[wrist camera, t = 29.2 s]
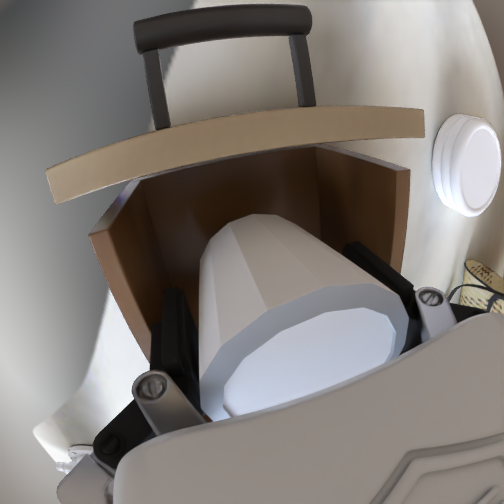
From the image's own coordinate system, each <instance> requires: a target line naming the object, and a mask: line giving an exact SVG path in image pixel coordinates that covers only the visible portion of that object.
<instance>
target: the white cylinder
mask: <svg viewBox="0 0 504 504" xmlns="http://www.w3.org/2000/svg"><path fill="white" fill-rule="evenodd" d="M408 322H409V317H408V315H407V312H406V310H405V308H404V305H403V303H402V301H401V299H400V296H399V295H397V294H396V293H395V292H393V291H392V290H391V289H389V288H388V287H386V286H385V285H384V284H382V283H381V282H380V281H378V280H377V279H375V278H374V277H373V276H371V275H370V274H368V273H367V272H365V271H364V270H363V269H361V268H360V267H358V266H357V265H355V264H354V263H353V262H351V261H350V260H348V259H347V258H345V257H344V256H342V255H341V254H340V253H338V252H337V251H335V250H334V249H332V248H331V247H329V246H328V245H326V244H325V243H323V242H322V241H320V240H319V239H317V238H316V237H314V236H313V235H311V234H310V233H308V232H307V231H305V230H304V229H302V228H301V227H299V226H298V225H296V224H294V223H292V222H290V221H288V220H286V219H284V218H282V217H280V216H278V215H268V214H251V215H248V216H246V217H243V218H240V219H237V220H235V221H232V222H229V223H228V224H227V225H226V226H224V227H223V228H222V229H221V230H220V231H219V232H218V233H217V234H215V235H214V236H213V237H212V238H211V239H210V240H209V242H208V244H207V247H206V249H205V251H204V253H203V255H202V257H201V259H200V275H199V383H200V402H201V409H202V410H203V411H204V412H205V413H206V414H207V415H208V416H209V417H210V418H211V419H212V420H213V422H214V421H219V420H223V419H227V418H231V417H235V416H239V415H243V414H247V413H250V412H254V411H258V410H261V409H265V408H268V407H272V406H275V405H278V404H282V403H285V402H288V401H291V400H294V399H297V398H300V397H303V396H306V395H309V394H311V393H314V392H317V391H320V390H322V389H325V388H328V387H330V386H333V385H335V384H338V383H340V382H343V381H345V380H348V379H350V378H352V377H355V376H357V375H359V374H362V373H364V372H366V371H368V370H371V369H373V368H375V367H377V366H379V365H381V364H383V363H385V362H387V361H389V360H392V359H394V358H396V357H398V356H399V354H400V352H401V351H402V349H403V347H404V345H405V340H406V335H407V328H408Z"/></svg>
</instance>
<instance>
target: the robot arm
mask: <svg viewBox="0 0 504 504" xmlns="http://www.w3.org/2000/svg"><path fill="white" fill-rule="evenodd" d="M342 256H344V257H345V258H347V259H348V260H350V261H351V262H353V263H354V264H355V265H357V266H358V267H360V268H361V269H363V270H364V271H365V272H367V273H368V274H370V275H371V276H373V277H374V278H375V279H377V280H378V281H380V282H381V283H382V284H384V285H385V286H386V287H388V288H389V289H391V290H392V291H393V292H395V293H396V294H397V295H399V296H400V299H401V301H402V303H403V305H404V308H405V310H406V312H407V315H408V317H409V322H408V328H407V335H406V340H405V345H404V347H403V349H402V351H401V352H400V356H398V357H396V358H394V359H392V360H389V361H387V362H385V363H383V364H381V365H379V366H377V367H375V368H373V369H371V370H368V371H366V372H364V373H362V374H359V375H357V376H355V377H352V378H350V379H348V380H345V381H343V382H340V383H338V384H335V385H333V386H330V387H328V388H325V389H322V390H320V391H317V392H314V393H311V394H309V395H306V396H303V397H300V398H297V399H294V400H291V401H288V402H285V403H282V404H278V405H275V406H272V407H268V408H265V409H261V410H258V411H254V412H250V413H247V414H243V415H239V416H235V417H231V418H227V419H223V420H219V421H214V422H210V423H207V421H206V420H205V419H204V418H203V417H204V415H206V413H205V412H204V411H203V410H202V409H201V402H200V383H199V334H198V331H197V328H196V326H195V323H194V320H193V317H192V314H191V312H190V309H189V306H188V303H187V300H186V297H185V294H184V291H183V289H178V288H177V286H175V287H170V288H166V289H164V290H163V306H162V322H158V323H154V324H152V331H151V349H150V371H147V372H145V373H143V374H141V375H140V376H139V377H138V378H137V379H136V380H135V381H134V383H133V386H132V394H133V397H134V400H133V401H132V402H131V403H130V404H129V405H128V406H127V407H125V408H124V409H123V410H122V411H121V412H120V413H119V414H118V415H117V416H116V417H115V418H114V419H113V420H112V421H111V422H110V423H109V424H108V425H107V426H106V427H105V428H104V429H103V430H102V431H101V432H99V434H98V435H97V436H96V437H95V440H94V442H93V446H84V445H78V446H73V447H71V448H70V449H69V453H68V454H69V457H70V458H71V459H72V462H69V463H64V462H57V463H56V467H57V469H58V470H59V471H63V472H69V473H68V474H67V475H66V477H65V478H64V479H63V480H62V481H61V482H60V483H59V485H58V487H57V496H58V499H59V501H60V502H61V503H62V504H504V314H501V313H496V312H491V313H487V312H486V311H485V310H483V309H480V308H476V307H470V306H464V305H458V304H452V303H449V302H448V300H447V298H446V296H445V295H444V293H442V292H441V291H440V290H438V289H436V288H433V287H422V288H420V289H418V290H417V291H415V290H413V287H414V285H412V284H411V283H410V282H409V281H408V280H407V279H405V278H404V277H403V276H402V275H401V274H399V273H398V272H397V271H396V270H394V269H393V268H392V267H391V266H390V265H388V264H387V263H386V262H385V261H383V260H382V259H381V258H380V257H378V256H377V255H376V254H375V253H373V252H372V251H371V250H369V249H368V248H367V247H366V246H364V245H363V244H362V243H360V242H359V241H354V242H350V243H347V244H346V245H345V247H344V248H343V249H342Z"/></svg>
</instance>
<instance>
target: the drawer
mask: <svg viewBox="0 0 504 504" xmlns="http://www.w3.org/2000/svg"><path fill="white" fill-rule="evenodd" d="M311 28H312V15H311V12H310V10H309V9H308V7H306V6H304V5H290V4H240V5H225V6H214V7H205V8H198V9H191V10H185V11H179V12H173V13H168V14H163V15H159V16H155V17H151V18H146V19H142V20H138V21H135V22H134V25H133V31H134V39H135V44H136V48H137V51H138V53H139V55H142V54H143V58H144V65H145V72H146V78H147V85H148V91H149V97H150V103H151V108H152V114H153V119H154V125H155V129H156V130H157V131H153V132H149V133H146V134H142V135H139V136H136V137H132V138H128V139H125V140H122V141H119V142H115V143H112V144H109V145H106V146H104V147H101V148H98V149H95V150H92V151H89V152H87V153H84V154H82V155H79V156H76V157H74V158H71V159H69V160H66V161H64V162H61V163H59V164H57V165H54V166H52V167H50V168H47V169H46V176H47V179H48V183H49V186H50V190H51V193H52V196H53V199H54V203H55V204H60V203H62V202H65V201H68V200H71V199H73V198H76V197H79V196H82V195H84V194H88V193H90V192H94V191H97V190H99V189H103V188H106V187H109V186H112V185H116V184H119V183H122V182H125V181H129V180H131V181H130V182H129V184H128V185H127V186H126V187H125V188H124V190H123V191H122V192H121V193H120V194H119V196H118V197H117V198H116V199H115V201H114V202H113V203H112V204H111V206H110V207H109V208H108V209H107V211H106V212H105V213H104V215H103V216H102V217H101V219H100V220H99V221H98V223H97V224H96V225H95V227H94V228H93V229H92V231H91V232H90V234H89V239H90V241H91V244H92V247H93V249H94V252H95V255H96V257H97V259H98V262H99V264H100V267H101V269H102V271H103V274H104V276H105V278H106V281H107V283H108V285H109V287H110V290H111V292H112V294H113V296H114V298H115V300H116V302H117V304H118V306H119V308H120V310H121V312H122V314H123V316H124V318H125V320H126V322H127V324H128V326H129V328H130V330H131V332H132V334H133V335H134V337H135V339H136V341H137V343H138V344H139V346H140V348H141V350H142V352H143V353H144V355H145V357H146V358H147V360H148V362H149V363H150V349H151V331H152V324H154V323H158V322H162V306H163V290H164V289H166V288H170V287H175V286H177V288H178V289H183V291H184V294H185V297H186V300H187V303H188V306H189V309H190V312H191V314H192V317H193V320H194V323H195V326H196V328H197V331H198V334H199V275H200V259H201V257H202V255H203V253H204V251H205V249H206V247H207V244H208V242H209V240H210V239H211V238H212V237H213V236H214V235H215V234H217V233H218V232H219V231H220V230H221V229H222V228H223V227H224V226H226V225H227V224H228V223H229V222H232V221H235V220H237V219H240V218H243V217H246V216H248V215H251V214H268V215H278V216H280V217H282V218H284V219H286V220H288V221H290V222H292V223H294V224H296V225H298V226H299V227H301V228H302V229H304V230H305V231H307V232H308V233H310V234H311V235H313V236H314V237H316V238H317V239H319V240H320V241H322V242H323V243H325V244H326V245H328V246H329V247H331V248H332V249H334V250H335V251H337V252H338V253H340V254H341V255H342V249H343V248H344V247H345V245H346V244H347V243H350V242H354V241H359V242H360V243H362V244H363V245H364V246H366V247H367V248H368V249H369V250H371V251H372V252H373V253H375V254H376V255H377V256H378V257H380V258H381V259H382V260H383V261H385V262H386V263H387V264H388V265H390V266H391V267H392V268H393V269H394V270H396V271H397V272H398V273H399V274H400V273H401V267H402V260H403V253H404V246H405V238H406V229H407V219H408V207H409V191H410V169H407V168H404V167H401V166H398V165H395V164H392V163H389V162H386V161H383V160H379V159H376V158H373V157H369V156H366V155H362V154H359V153H355V152H351V151H348V150H344V149H340V148H336V147H332V146H327V145H323V144H318V143H328V142H339V141H352V140H368V139H392V138H424V137H425V126H424V110H422V109H415V108H403V107H387V106H316V100H315V92H314V85H313V77H312V70H311V64H310V57H309V51H308V45H307V40H306V36H307V35H308V34H309V33H310V31H311ZM261 36H290V37H289V43H290V49H291V55H292V62H293V68H294V75H295V82H296V89H297V96H298V104H299V107H297V108H285V109H274V110H265V111H257V112H249V113H242V114H235V115H229V116H223V117H217V118H211V119H206V120H201V121H196V122H191V123H186V124H182V125H177V126H173V127H171V122H170V117H169V111H168V106H167V100H166V94H165V88H164V82H163V76H162V69H161V62H160V56H159V50H163V49H167V48H172V47H177V46H182V45H188V44H193V43H200V42H206V41H214V40H222V39H232V38H243V37H261ZM309 144H315V145H309ZM301 145H306V146H301ZM293 146H298V147H293ZM285 147H290V148H285ZM278 148H282V149H278ZM271 149H275V150H271ZM264 150H269V151H264ZM258 151H262V152H258ZM252 152H256V153H252ZM246 153H250V154H246ZM241 154H244V155H241ZM235 155H239V156H235ZM230 156H233V157H230ZM224 157H228V158H224ZM219 158H223V159H219ZM214 159H218V160H214ZM209 160H213V161H209ZM205 161H208V162H205ZM200 162H203V163H200ZM196 163H199V164H196ZM191 164H194V165H191ZM187 165H190V166H187ZM182 166H185V167H182ZM178 167H181V168H178ZM174 168H177V169H174ZM170 169H173V170H170ZM166 170H169V171H166ZM162 171H165V172H162ZM158 172H161V173H158ZM154 173H157V174H154ZM151 174H153V175H151ZM147 175H149V176H147ZM143 176H146V177H143ZM140 177H142V178H140ZM136 178H139V179H136ZM133 179H135V180H133Z"/></svg>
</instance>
